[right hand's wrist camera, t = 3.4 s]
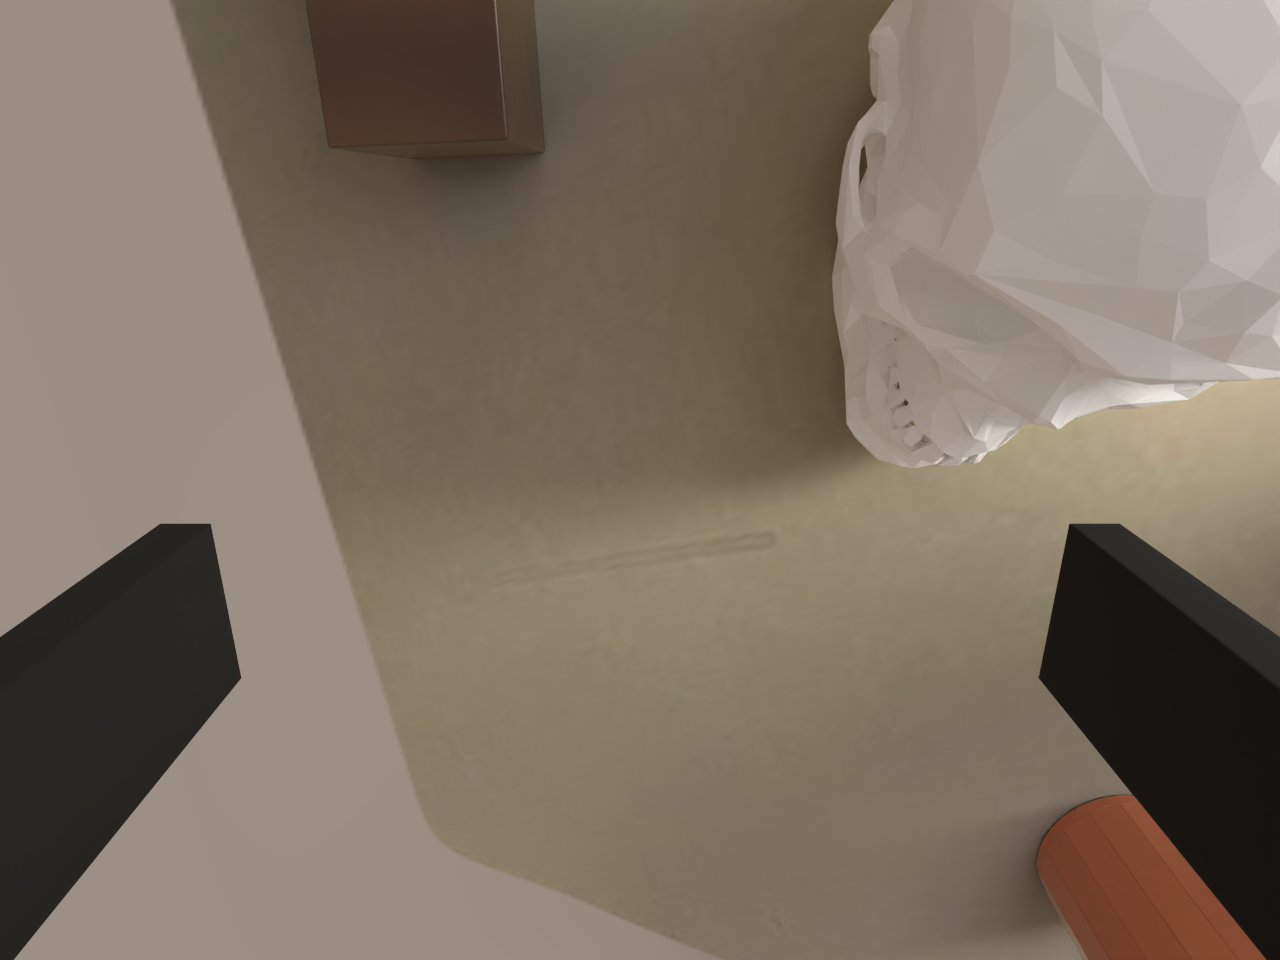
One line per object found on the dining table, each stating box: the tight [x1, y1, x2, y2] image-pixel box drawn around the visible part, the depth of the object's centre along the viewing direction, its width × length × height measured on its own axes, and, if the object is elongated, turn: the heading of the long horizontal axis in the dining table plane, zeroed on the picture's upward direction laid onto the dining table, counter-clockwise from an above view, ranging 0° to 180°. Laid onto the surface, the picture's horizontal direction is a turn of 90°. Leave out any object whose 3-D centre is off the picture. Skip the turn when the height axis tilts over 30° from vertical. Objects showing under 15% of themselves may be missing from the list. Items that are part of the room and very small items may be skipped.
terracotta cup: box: [1037, 795, 1266, 960], centre depth 36 cm, size 7×7×9 cm
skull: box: [832, 0, 1280, 468], centre depth 22 cm, size 13×22×16 cm, turn 167°
